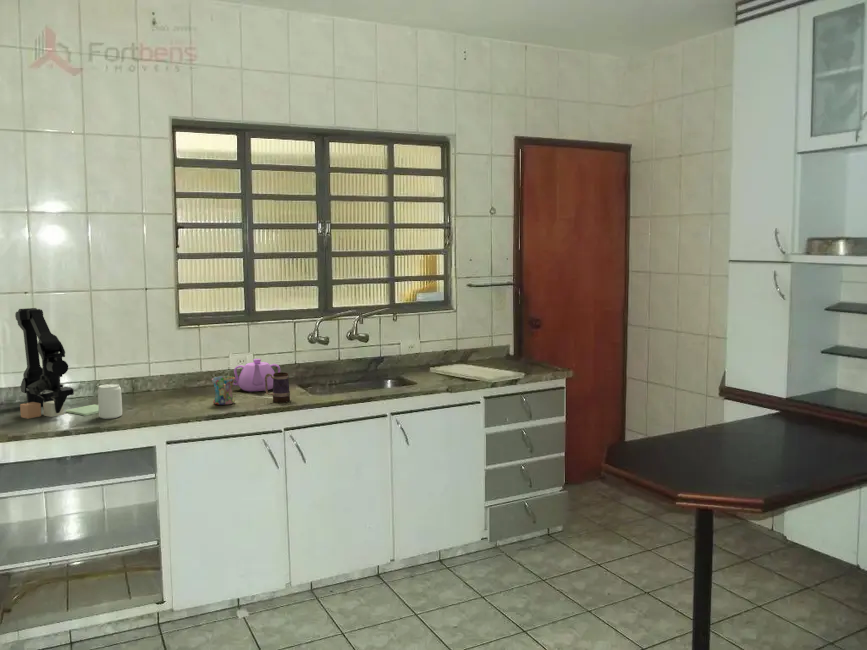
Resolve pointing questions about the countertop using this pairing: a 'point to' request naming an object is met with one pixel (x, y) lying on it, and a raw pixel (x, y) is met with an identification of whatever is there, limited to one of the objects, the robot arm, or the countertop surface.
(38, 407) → the terracotta brick
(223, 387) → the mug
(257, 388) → the teapot
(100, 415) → the beverage can
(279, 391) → the mug
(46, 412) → the cream brick
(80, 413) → the plate
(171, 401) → the countertop surface
